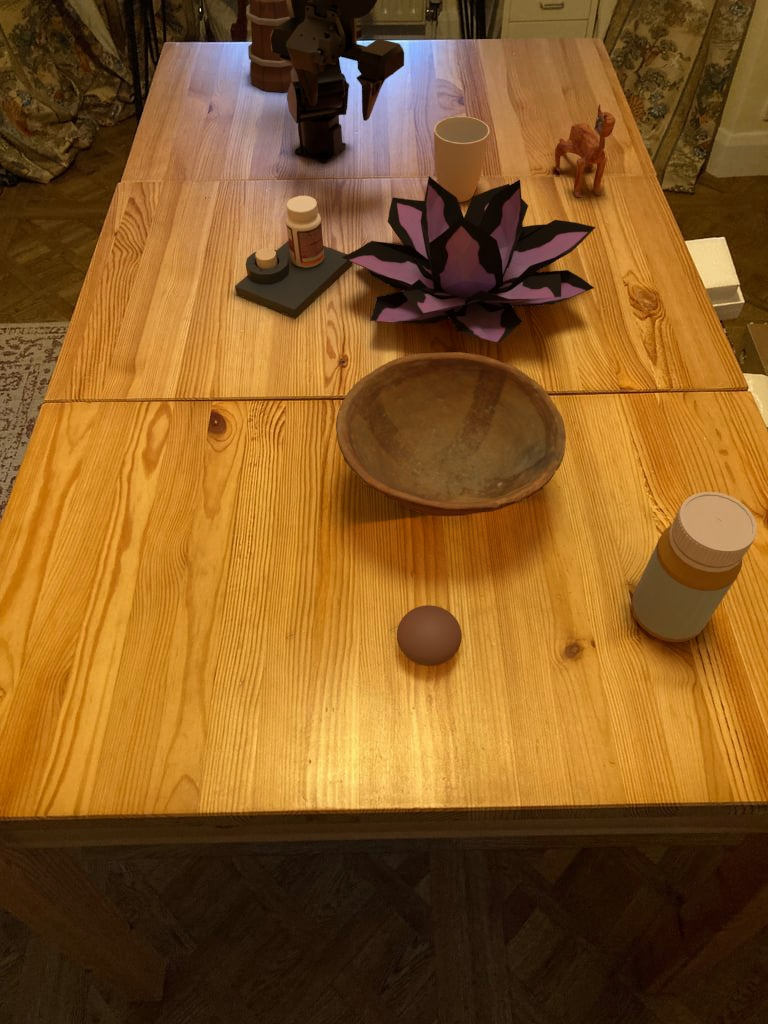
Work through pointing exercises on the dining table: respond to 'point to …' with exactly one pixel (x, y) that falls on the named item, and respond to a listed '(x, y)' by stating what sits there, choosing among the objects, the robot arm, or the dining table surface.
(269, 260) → the button
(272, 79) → the mug
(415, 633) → the brown flattened ball
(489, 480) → the bowl
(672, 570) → the bottle
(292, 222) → the pill bottle
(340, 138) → the robot arm
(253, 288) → the dark flat slab piece
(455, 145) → the cup
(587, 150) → the orange animal figurine
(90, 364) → the dining table surface
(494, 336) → the decorative flower
